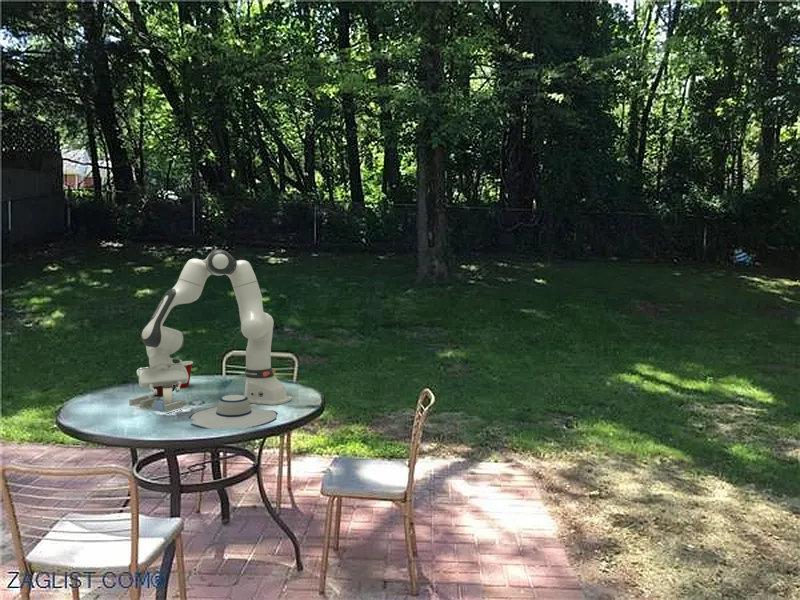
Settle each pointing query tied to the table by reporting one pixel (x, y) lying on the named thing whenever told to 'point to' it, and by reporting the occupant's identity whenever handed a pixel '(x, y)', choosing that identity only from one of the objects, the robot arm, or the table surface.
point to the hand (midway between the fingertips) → (166, 392)
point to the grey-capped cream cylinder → (167, 393)
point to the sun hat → (233, 414)
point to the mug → (161, 390)
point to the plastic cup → (188, 367)
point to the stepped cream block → (155, 404)
